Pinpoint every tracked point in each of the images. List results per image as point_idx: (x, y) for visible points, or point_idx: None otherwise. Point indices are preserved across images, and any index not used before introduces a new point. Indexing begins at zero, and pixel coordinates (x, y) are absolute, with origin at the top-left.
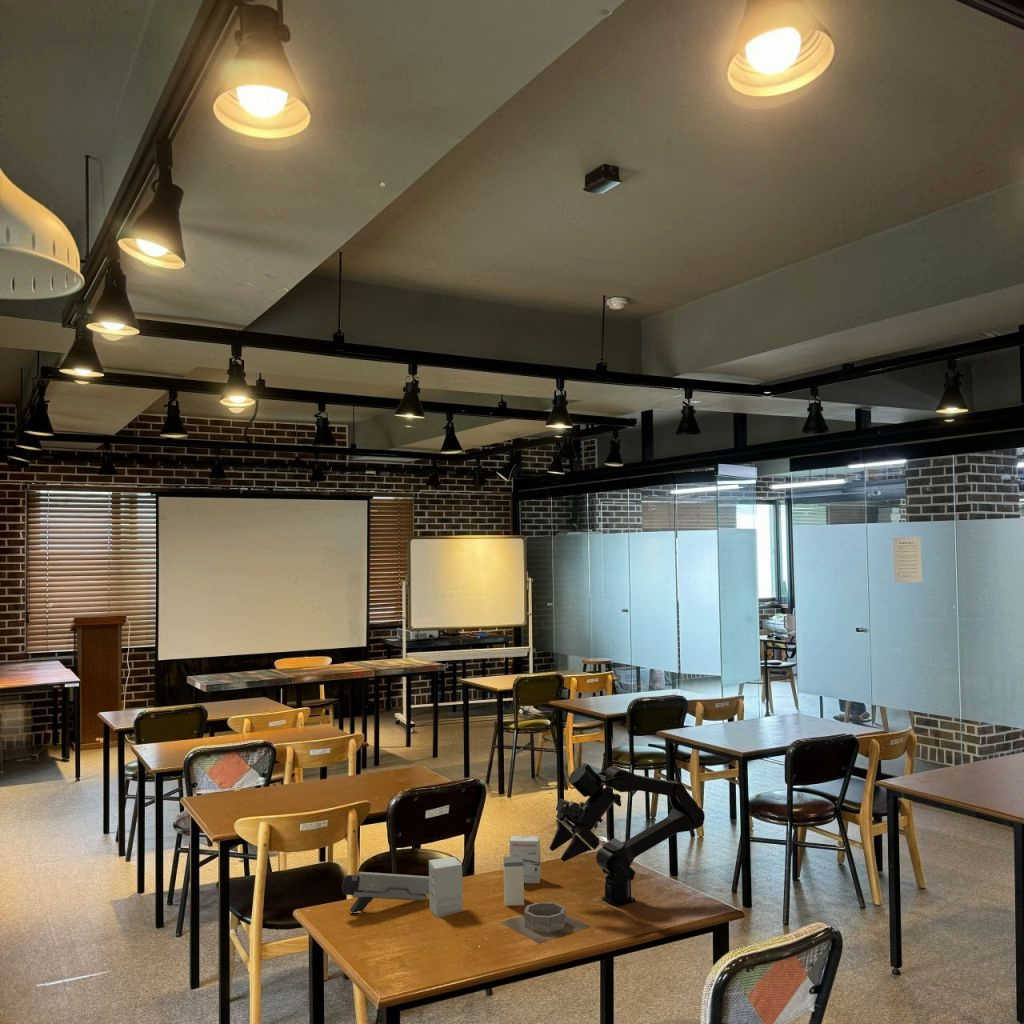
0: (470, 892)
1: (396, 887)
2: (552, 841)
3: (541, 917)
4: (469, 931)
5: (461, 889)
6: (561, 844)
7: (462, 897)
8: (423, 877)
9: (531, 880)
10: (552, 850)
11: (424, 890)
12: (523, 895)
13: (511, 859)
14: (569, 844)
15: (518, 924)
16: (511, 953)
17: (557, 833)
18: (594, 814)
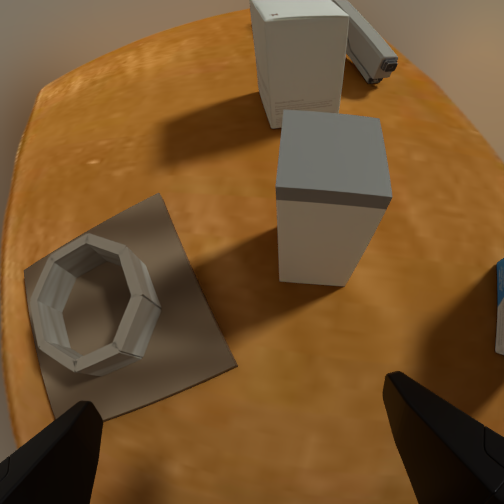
0: (426, 158)
1: None
2: (437, 401)
3: (41, 276)
4: (167, 141)
5: (267, 78)
6: (413, 482)
7: (269, 96)
8: (376, 42)
9: (501, 325)
10: (384, 397)
11: (367, 64)
12: (279, 261)
13: (333, 140)
14: (13, 482)
15: (127, 238)
16: (39, 217)
17: (477, 469)
18: None
